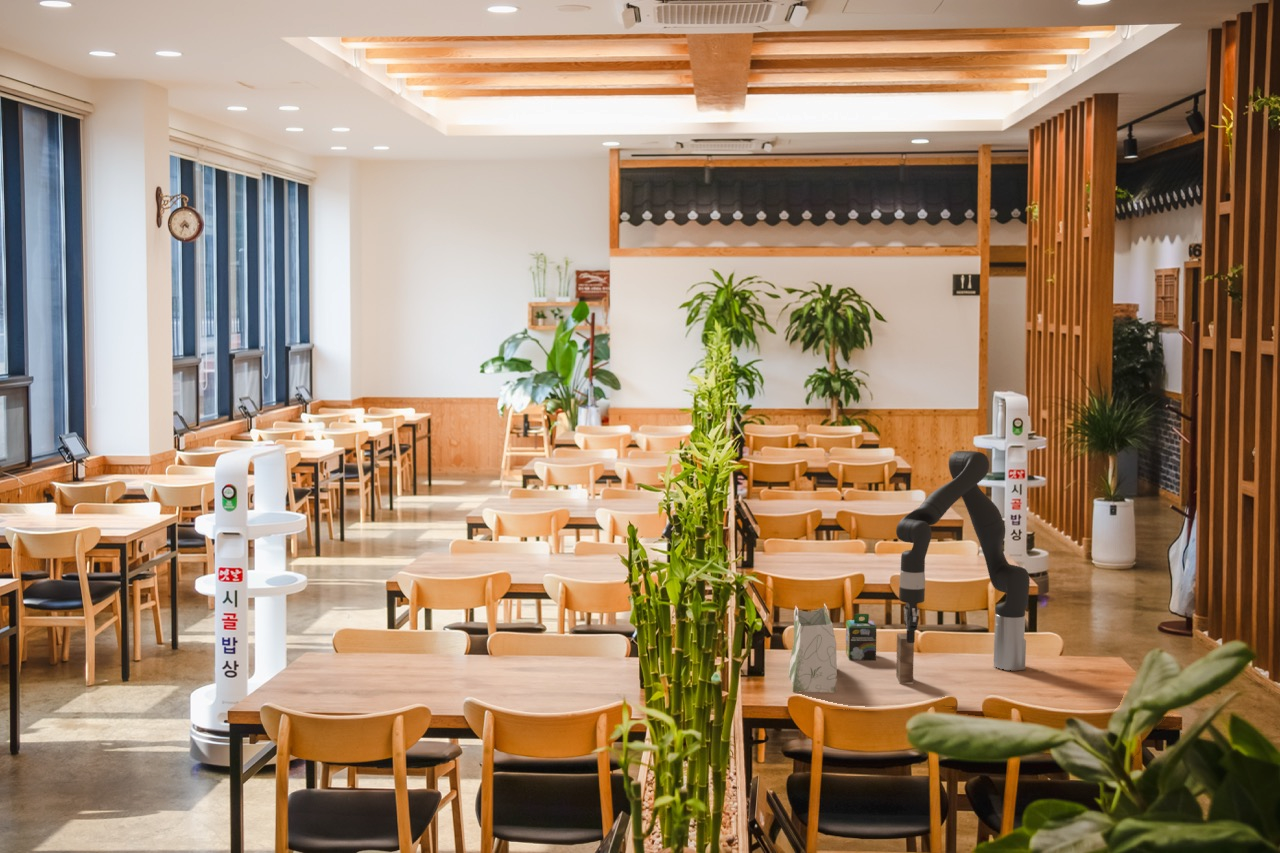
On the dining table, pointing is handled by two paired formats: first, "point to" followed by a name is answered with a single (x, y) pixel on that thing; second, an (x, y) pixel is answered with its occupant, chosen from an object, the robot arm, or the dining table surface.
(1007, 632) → the robot arm
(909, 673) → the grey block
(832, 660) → the grocery bag
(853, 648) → the chalk box
